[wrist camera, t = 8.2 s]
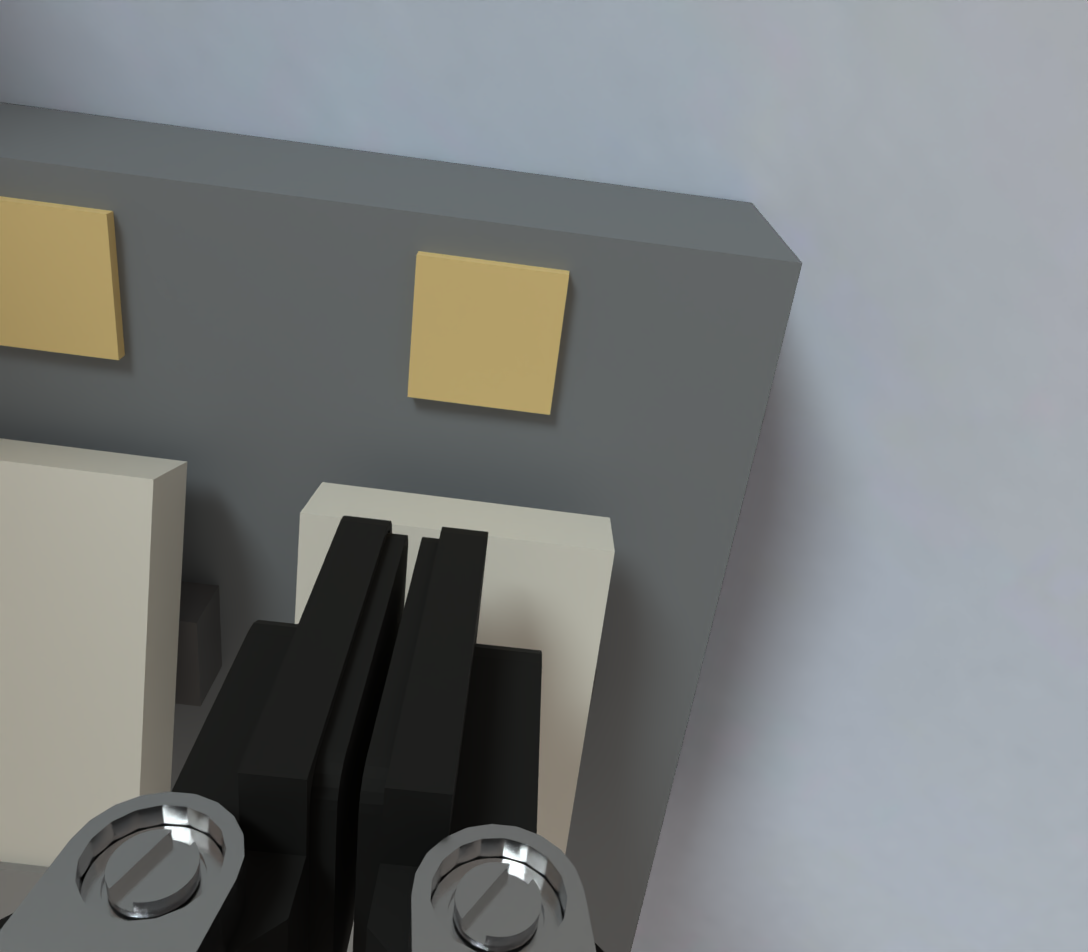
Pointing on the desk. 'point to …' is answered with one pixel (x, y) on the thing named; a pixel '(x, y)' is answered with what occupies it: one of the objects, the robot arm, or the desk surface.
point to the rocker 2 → (504, 604)
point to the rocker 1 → (83, 642)
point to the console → (404, 387)
